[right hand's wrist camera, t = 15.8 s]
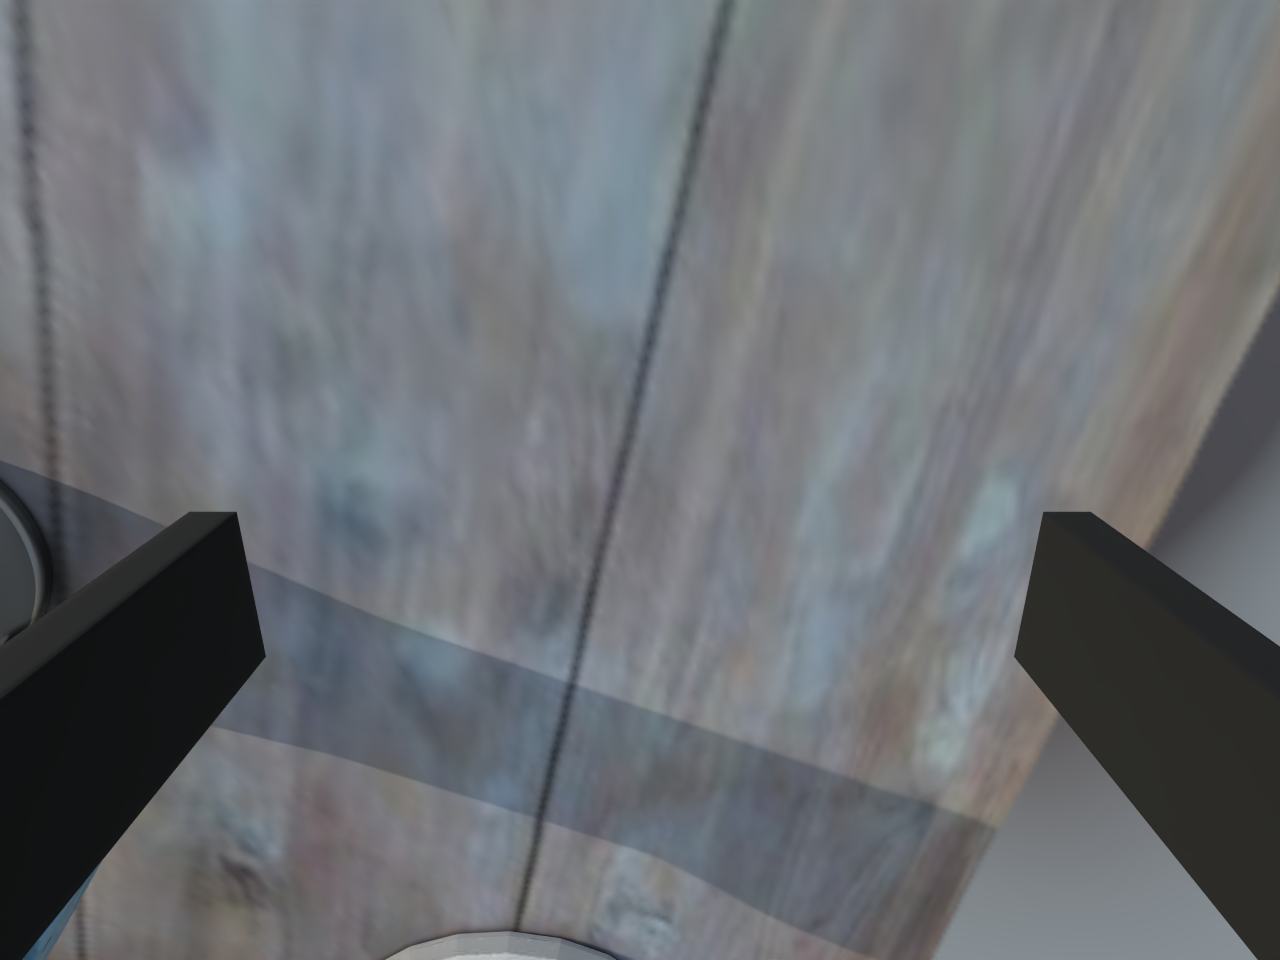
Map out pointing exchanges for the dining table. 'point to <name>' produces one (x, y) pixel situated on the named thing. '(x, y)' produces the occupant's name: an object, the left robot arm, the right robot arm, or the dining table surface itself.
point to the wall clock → (499, 948)
